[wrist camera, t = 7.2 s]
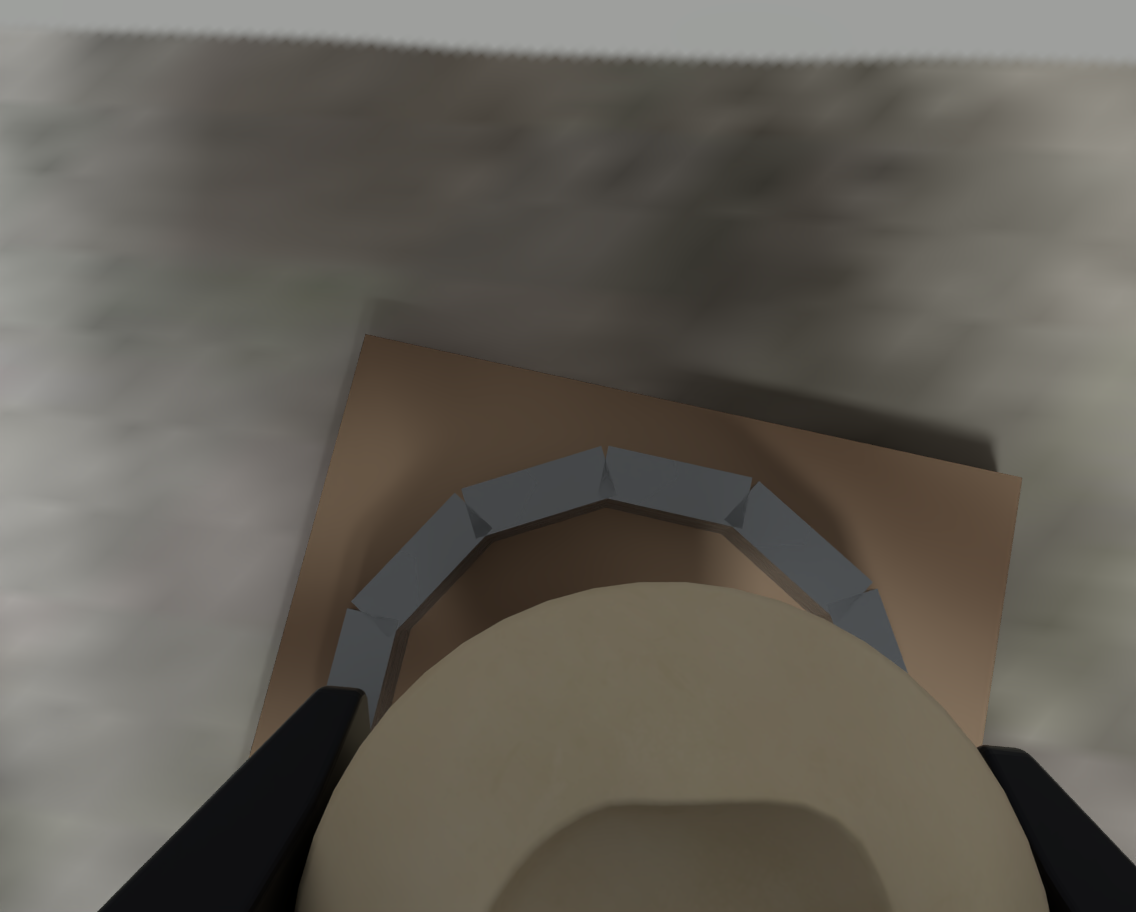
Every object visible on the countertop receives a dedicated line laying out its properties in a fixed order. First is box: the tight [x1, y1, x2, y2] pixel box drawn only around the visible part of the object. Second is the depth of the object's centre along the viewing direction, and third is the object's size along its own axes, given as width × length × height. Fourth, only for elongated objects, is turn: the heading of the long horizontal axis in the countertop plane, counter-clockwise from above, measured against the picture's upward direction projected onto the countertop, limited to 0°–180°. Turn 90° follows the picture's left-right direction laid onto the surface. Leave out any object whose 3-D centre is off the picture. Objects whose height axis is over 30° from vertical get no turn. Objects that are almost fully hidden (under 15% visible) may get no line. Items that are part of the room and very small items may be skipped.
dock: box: [249, 334, 1022, 758], centre depth 18 cm, size 14×14×2 cm
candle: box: [294, 582, 1050, 912], centre depth 10 cm, size 6×6×10 cm
